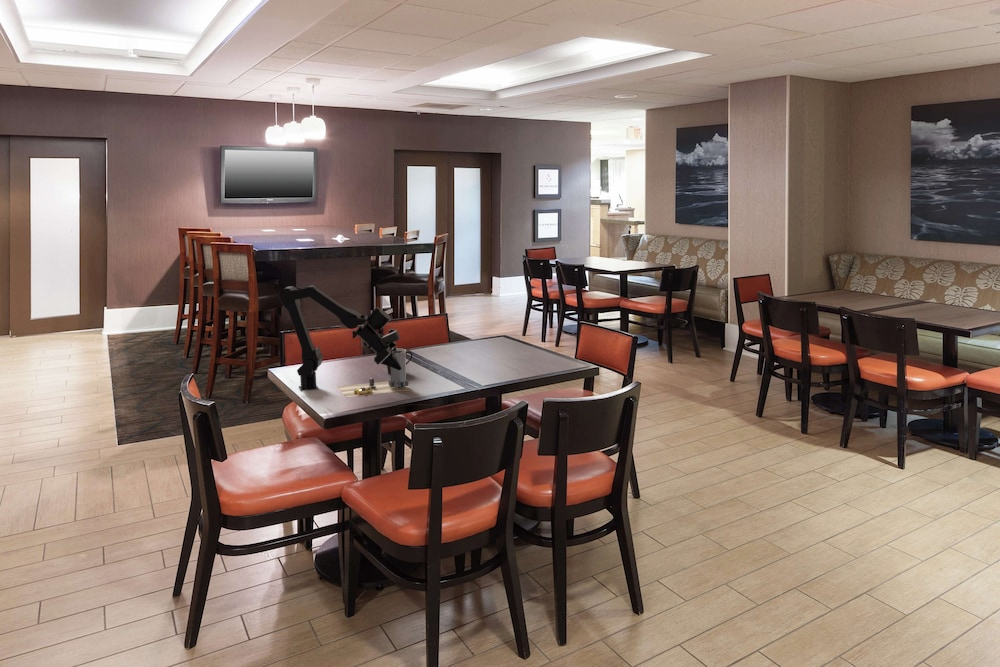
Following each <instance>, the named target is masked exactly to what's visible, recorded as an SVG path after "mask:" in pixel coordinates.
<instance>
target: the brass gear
mask: <svg viewBox="0 0 1000 667" xmlns="http://www.w3.org/2000/svg"><path fill="white" fill-rule="evenodd" d="M371 393H372V388H371V389H369V388H368V387H366V388H364V387H363V388H362V387H361V388H358V389H355V390H354V394H357V395H364V396H368V395H367V394H371Z"/></svg>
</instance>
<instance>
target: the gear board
mask: <svg viewBox="0 0 1000 667" xmlns="http://www.w3.org/2000/svg"><path fill="white" fill-rule="evenodd" d="M389 381H390V380H387V381H377V382H374V386H376V388H373V389H372V393H371V394H367V395H366V396H372V395H380V394H390V393H400V392H408V391H413V388H412V387H410V386H406V387H404V388H403V387H399V388H396V387H390V386H389ZM361 387H362V388H363V387H364V388H366V387H369V382H368V383H360V384H359V383H358V384H351V385H341V386H337V388H338V389H339V391H340V392H341V393H342V395H343V396H344V397H345V398H354V397H361V396H364V397H365V395H357V394H354V390H355V389H358V388H361ZM369 389H370V388H369Z"/></svg>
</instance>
